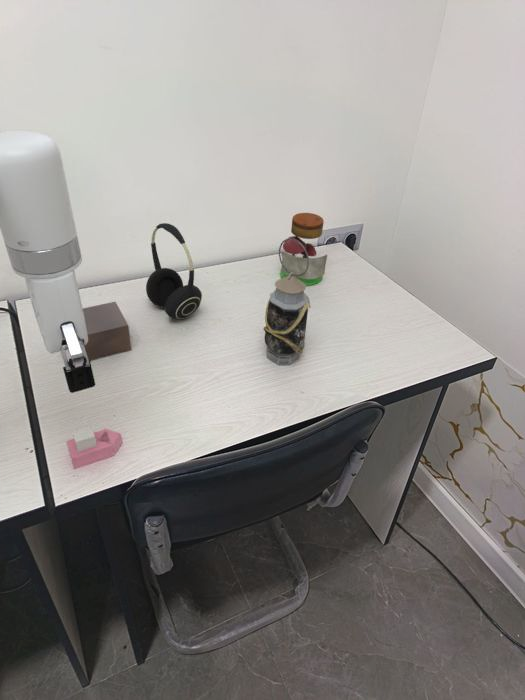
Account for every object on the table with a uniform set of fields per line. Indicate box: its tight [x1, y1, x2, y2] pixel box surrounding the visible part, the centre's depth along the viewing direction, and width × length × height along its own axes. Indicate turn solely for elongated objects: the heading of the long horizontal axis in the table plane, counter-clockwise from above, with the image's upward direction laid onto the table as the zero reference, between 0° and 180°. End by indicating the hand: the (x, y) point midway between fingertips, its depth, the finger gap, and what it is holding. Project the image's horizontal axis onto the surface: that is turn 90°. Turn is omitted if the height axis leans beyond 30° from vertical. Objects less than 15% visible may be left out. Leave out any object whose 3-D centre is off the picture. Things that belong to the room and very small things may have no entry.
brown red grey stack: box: [279, 212, 328, 287], centre depth 120 cm, size 12×13×15 cm
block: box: [77, 301, 132, 361], centre depth 96 cm, size 9×9×6 cm
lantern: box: [263, 237, 311, 366], centre depth 91 cm, size 9×8×25 cm
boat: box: [65, 425, 123, 470], centre depth 75 cm, size 8×4×5 cm, turn 118°
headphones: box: [145, 222, 203, 320], centre depth 102 cm, size 9×15×20 cm, turn 41°
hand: (74, 366), depth 67 cm, fingers open, 9 cm apart
